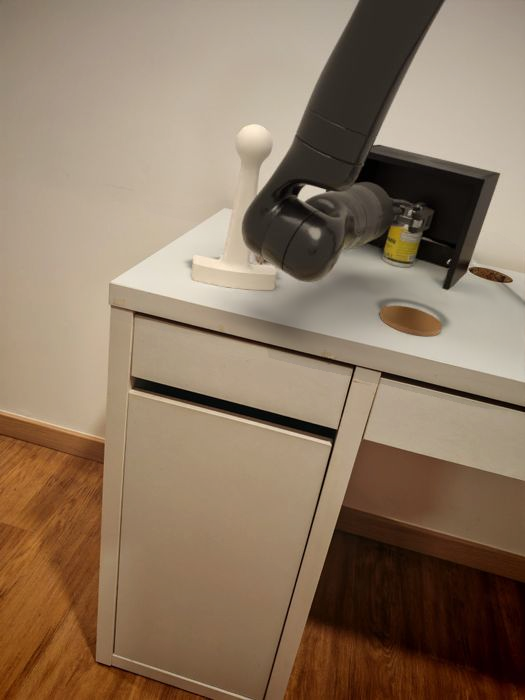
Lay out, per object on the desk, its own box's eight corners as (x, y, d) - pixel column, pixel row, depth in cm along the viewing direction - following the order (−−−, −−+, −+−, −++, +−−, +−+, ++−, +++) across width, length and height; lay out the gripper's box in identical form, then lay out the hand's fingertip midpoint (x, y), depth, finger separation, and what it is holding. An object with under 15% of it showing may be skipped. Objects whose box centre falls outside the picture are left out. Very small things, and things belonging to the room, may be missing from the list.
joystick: (190, 282, 75) (210, 118, 67) (192, 263, 82) (210, 111, 73) (275, 293, 77) (305, 134, 68) (269, 273, 84) (296, 126, 75)
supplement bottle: (379, 255, 102) (394, 199, 98) (409, 260, 102) (425, 204, 98) (384, 264, 97) (400, 206, 93) (415, 270, 97) (433, 212, 93)
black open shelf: (448, 290, 91) (485, 179, 83) (322, 249, 99) (345, 145, 92) (466, 272, 101) (500, 173, 94) (351, 237, 110) (373, 143, 102)
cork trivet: (428, 313, 80) (430, 309, 80) (450, 339, 73) (451, 335, 73) (372, 306, 79) (374, 302, 79) (389, 332, 72) (390, 327, 72)
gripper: (415, 201, 68) (448, 188, 81) (308, 171, 74) (355, 164, 87) (398, 261, 72) (432, 240, 85) (296, 229, 77) (343, 214, 90)
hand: (393, 202), depth 86 cm, fingers open, 8 cm apart
